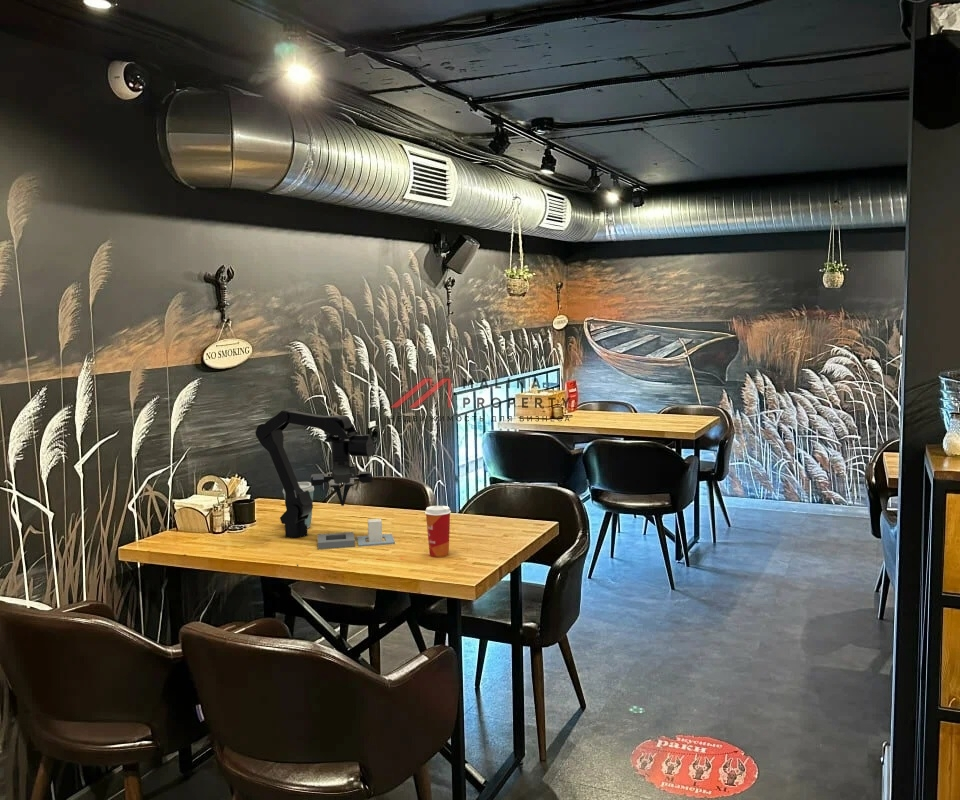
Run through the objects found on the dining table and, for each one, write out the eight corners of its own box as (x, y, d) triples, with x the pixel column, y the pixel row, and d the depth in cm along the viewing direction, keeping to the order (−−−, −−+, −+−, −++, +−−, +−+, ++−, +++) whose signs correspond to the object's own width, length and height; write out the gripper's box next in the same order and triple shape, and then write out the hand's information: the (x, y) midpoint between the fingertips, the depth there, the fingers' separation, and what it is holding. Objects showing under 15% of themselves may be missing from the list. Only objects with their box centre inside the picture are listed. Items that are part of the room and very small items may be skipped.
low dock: (358, 551, 254) (358, 544, 253) (356, 542, 264) (356, 536, 264) (395, 548, 256) (394, 542, 255) (391, 540, 266) (391, 533, 266)
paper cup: (427, 551, 252) (426, 505, 250) (453, 551, 251) (451, 504, 250) (424, 558, 244) (423, 510, 243) (451, 558, 244) (449, 510, 242)
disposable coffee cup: (309, 531, 281) (307, 487, 279) (278, 531, 283) (276, 487, 281) (320, 524, 291) (318, 481, 290) (291, 523, 293) (289, 481, 292)
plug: (369, 547, 258) (368, 522, 257) (368, 544, 261) (367, 519, 261) (382, 546, 258) (381, 521, 258) (381, 543, 262) (380, 518, 262)
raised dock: (318, 554, 251) (317, 542, 251) (318, 545, 262) (317, 534, 262) (355, 551, 253) (354, 540, 253) (353, 542, 264) (353, 531, 264)
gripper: (310, 461, 252) (312, 512, 253) (372, 458, 256) (374, 509, 257) (310, 456, 263) (312, 505, 264) (370, 453, 267) (372, 501, 268)
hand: (342, 505), depth 263 cm, fingers closed
